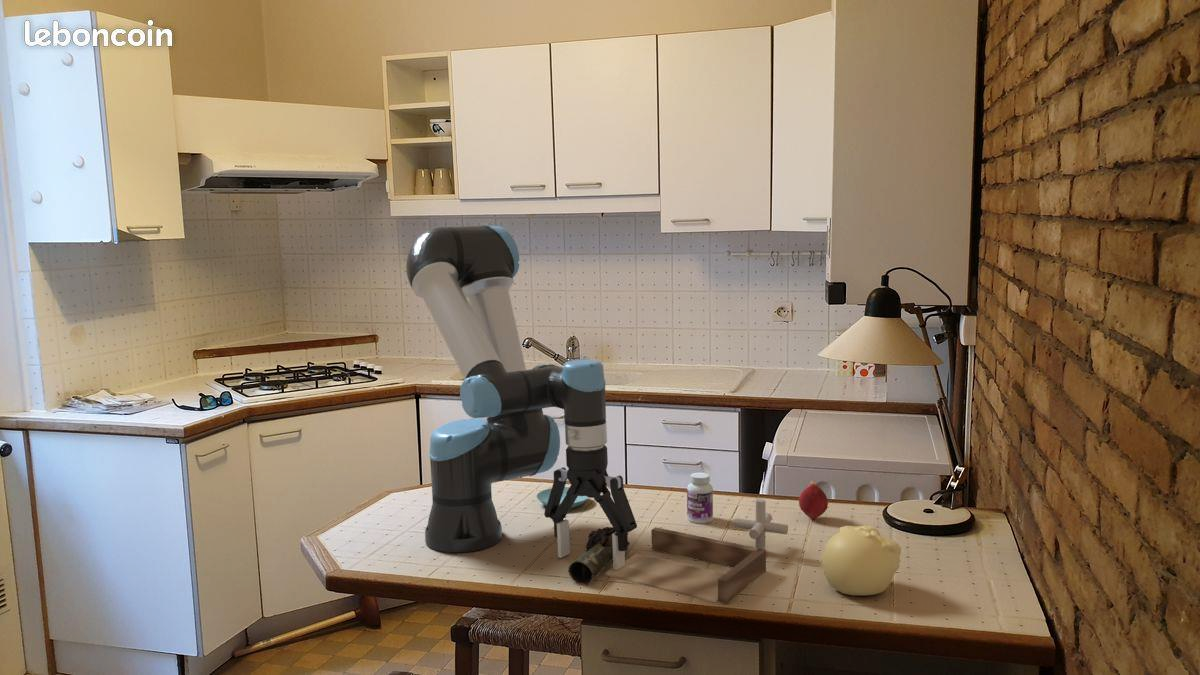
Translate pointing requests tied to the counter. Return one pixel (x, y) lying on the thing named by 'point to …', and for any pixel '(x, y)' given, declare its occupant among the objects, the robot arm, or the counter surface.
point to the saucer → (545, 494)
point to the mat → (670, 576)
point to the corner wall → (715, 558)
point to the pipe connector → (760, 524)
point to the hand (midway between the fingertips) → (591, 561)
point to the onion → (813, 501)
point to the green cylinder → (593, 556)
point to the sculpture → (860, 560)
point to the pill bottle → (700, 498)
